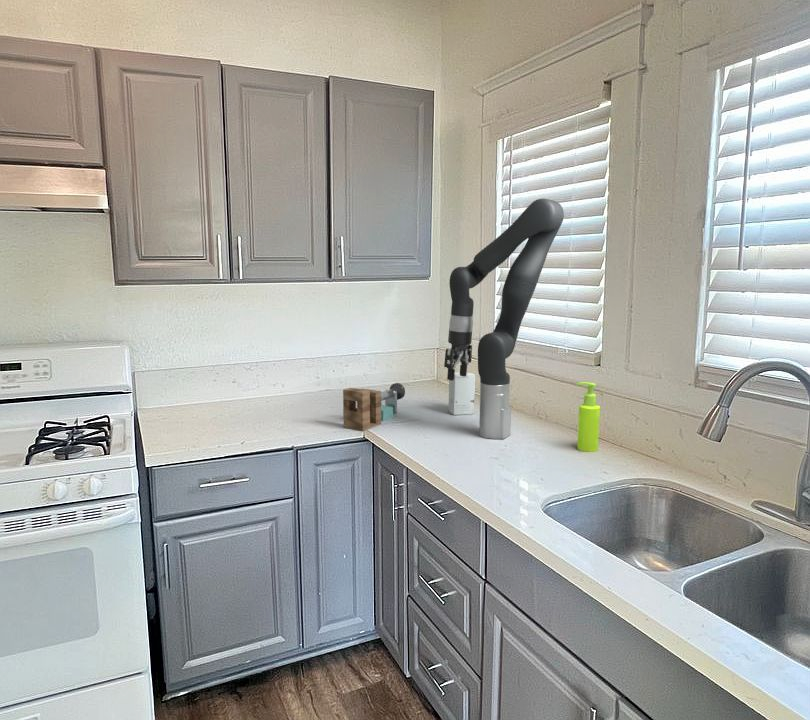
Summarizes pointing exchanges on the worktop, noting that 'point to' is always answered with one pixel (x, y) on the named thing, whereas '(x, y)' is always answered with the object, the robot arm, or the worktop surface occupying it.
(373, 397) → the bearing stand
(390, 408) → the block
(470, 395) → the skincare box
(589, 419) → the soap dispenser
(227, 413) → the worktop surface
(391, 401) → the shaft
